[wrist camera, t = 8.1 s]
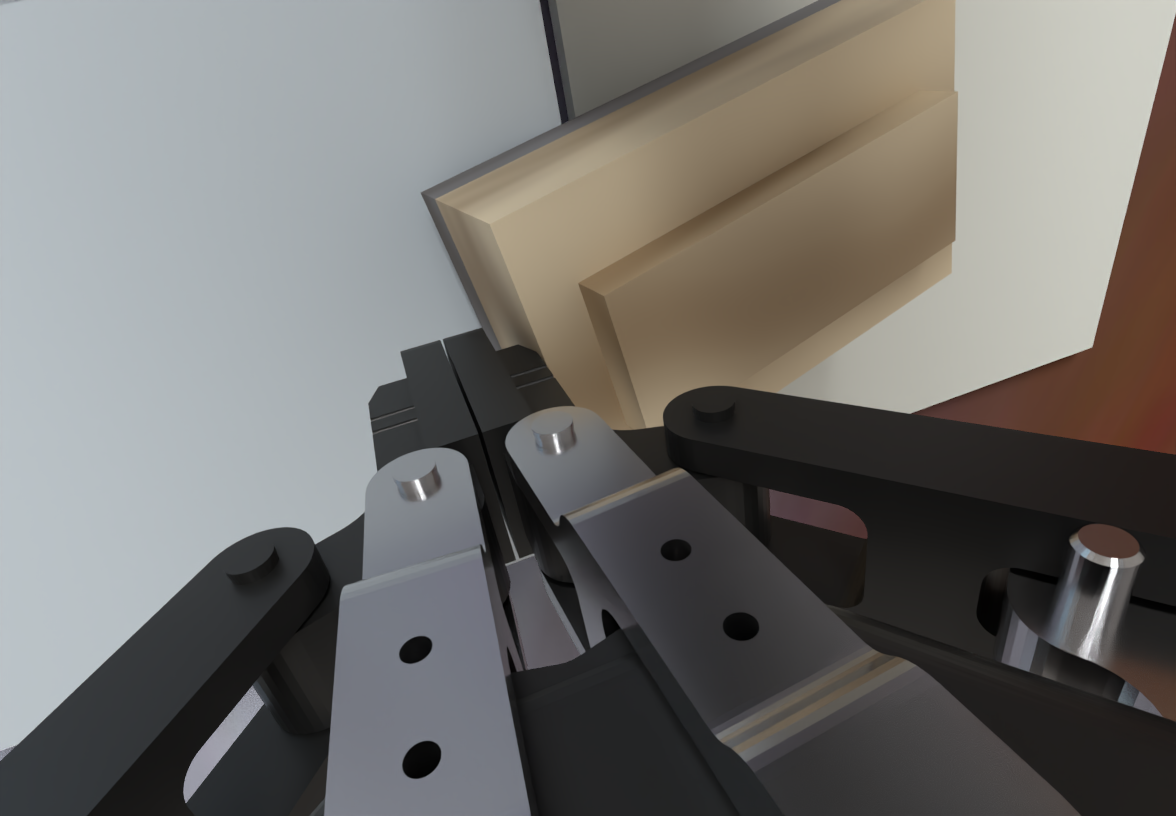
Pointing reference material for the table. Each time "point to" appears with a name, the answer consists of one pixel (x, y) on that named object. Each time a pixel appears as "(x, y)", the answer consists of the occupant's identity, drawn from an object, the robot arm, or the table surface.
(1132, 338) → the table surface
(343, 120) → the large white box
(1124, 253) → the table surface
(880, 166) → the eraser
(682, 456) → the robot arm
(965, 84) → the mat
